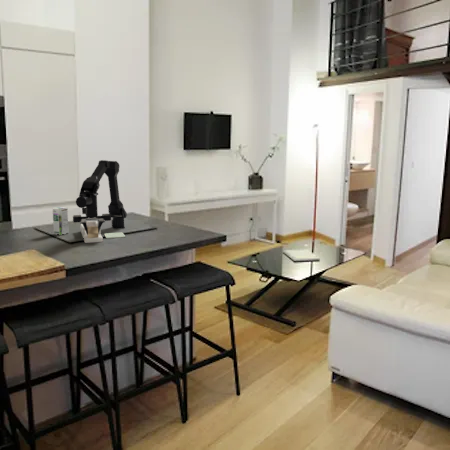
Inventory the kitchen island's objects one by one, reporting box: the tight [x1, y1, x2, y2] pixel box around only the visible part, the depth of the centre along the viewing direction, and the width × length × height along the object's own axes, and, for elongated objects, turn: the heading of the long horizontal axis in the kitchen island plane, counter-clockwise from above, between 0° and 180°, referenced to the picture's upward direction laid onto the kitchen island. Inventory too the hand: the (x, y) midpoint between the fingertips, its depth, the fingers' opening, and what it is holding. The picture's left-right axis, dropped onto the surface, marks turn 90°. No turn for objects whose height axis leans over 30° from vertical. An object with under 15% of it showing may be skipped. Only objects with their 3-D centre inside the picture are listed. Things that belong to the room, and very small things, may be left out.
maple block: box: [87, 226, 98, 238], centre depth 243 cm, size 5×5×5 cm
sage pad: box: [103, 231, 126, 240], centre depth 254 cm, size 10×10×1 cm
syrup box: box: [52, 206, 69, 236], centre depth 254 cm, size 6×6×14 cm
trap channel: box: [80, 220, 104, 244], centre depth 251 cm, size 9×27×6 cm, turn 21°
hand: (92, 234), depth 244 cm, fingers closed on maple block, 5 cm apart
